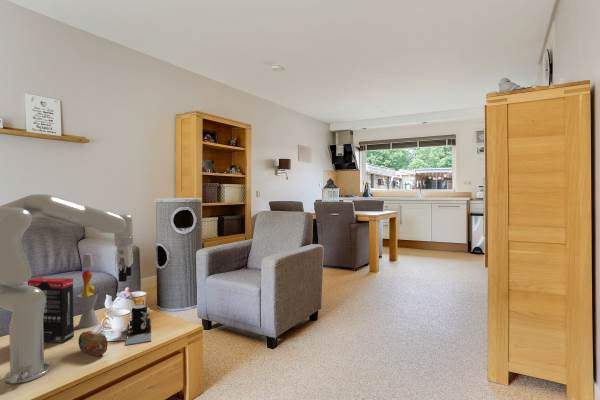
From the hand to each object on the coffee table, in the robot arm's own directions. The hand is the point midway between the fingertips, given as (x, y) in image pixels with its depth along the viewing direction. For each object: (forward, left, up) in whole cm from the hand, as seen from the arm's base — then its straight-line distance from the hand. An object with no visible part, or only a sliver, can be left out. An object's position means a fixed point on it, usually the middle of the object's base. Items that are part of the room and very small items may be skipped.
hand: (125, 278), depth 159 cm
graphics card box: (+5, +30, -26) cm, 40 cm away
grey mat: (-10, -6, -26) cm, 28 cm away
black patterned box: (0, -6, -26) cm, 26 cm away
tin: (-17, +11, -26) cm, 33 cm away
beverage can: (0, -6, -26) cm, 26 cm away
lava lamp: (+19, +18, -26) cm, 37 cm away
